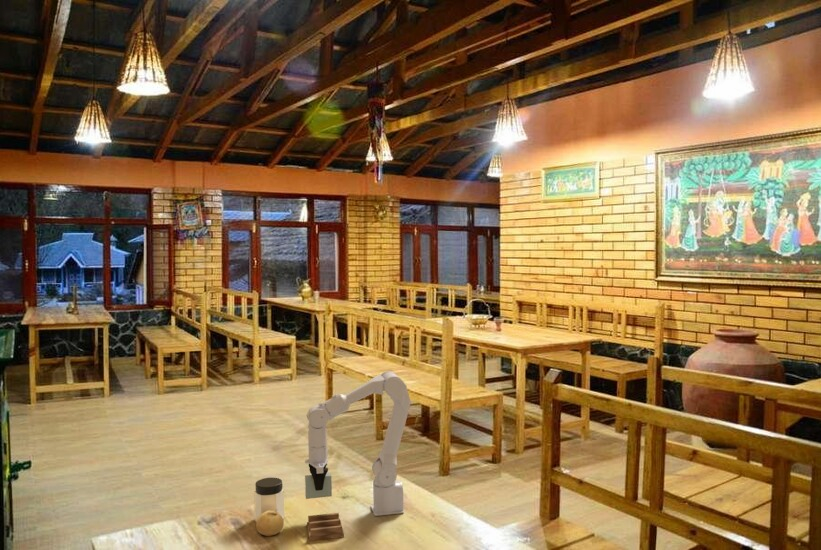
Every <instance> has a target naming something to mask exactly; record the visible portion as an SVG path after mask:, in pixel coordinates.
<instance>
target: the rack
mask: <svg viewBox="0 0 821 550" xmlns="http://www.w3.org/2000/svg"><path fill="white" fill-rule="evenodd" d="M306 527H307V528H306V529H307V532H308V533H307V535H308V540H309V541H311V542H312V541H319V540H328V539H329V540H331V539H339V538H344V537H345V532H344V529H343V525H342V520H341V518H340V514H339V512H333V513H331V512H330V513H323V514H315V515H308V516H307V522H306Z"/></svg>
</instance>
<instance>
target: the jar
mask: <svg viewBox="0 0 821 550" xmlns="http://www.w3.org/2000/svg"><path fill="white" fill-rule="evenodd" d="M253 495H254V497H253V498H254V500H253V501H254V502H253V503H254V521H255V522H257V519H258V518H259V516H260V515H261V514H262V513H264V512H266V511H268V510H270V511H275V510H277V511H276V512H278V513H279V514H280V515H281V516H282V518H283V520H284V519H285V489H284V488H283V480H282V479H281V478H279V477H265V478H261V479H257V481H255V490H254V491H253Z"/></svg>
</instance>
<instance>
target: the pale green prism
mask: <svg viewBox="0 0 821 550" xmlns="http://www.w3.org/2000/svg"><path fill="white" fill-rule="evenodd" d="M332 485H333V484H332V473H328V472H327V474H326V476H325V480H324V485H323V490H319V491H316V490H315V485H314V480H313V477H312V475H311V474H309V475H304V490H305V491H304V492H305V493H304V494H305V500H309V499H311V500H312V499H318V498H328V497H332V496H333V492H332V491H333V489H332V487H333V486H332Z"/></svg>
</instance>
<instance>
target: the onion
mask: <svg viewBox="0 0 821 550" xmlns="http://www.w3.org/2000/svg"><path fill="white" fill-rule="evenodd" d="M276 511H277V510H275V511H270V510H268V511H266V512H264V513H262V514H261V515H260V516H259V518H258V519H257V522H256V521H255V522H256V523H255V528H256V530H257V532H258V533H259V534H260V535H262V536H264V537H271V536H275V535H277V534H279V533H280V532H281V531H282V530H283V529H284V524H285V523H284V519H283V518H282V516H281V515H280V514H279V513H278V512H276Z"/></svg>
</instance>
